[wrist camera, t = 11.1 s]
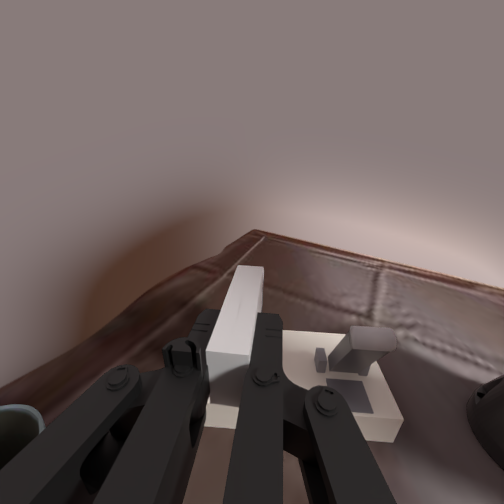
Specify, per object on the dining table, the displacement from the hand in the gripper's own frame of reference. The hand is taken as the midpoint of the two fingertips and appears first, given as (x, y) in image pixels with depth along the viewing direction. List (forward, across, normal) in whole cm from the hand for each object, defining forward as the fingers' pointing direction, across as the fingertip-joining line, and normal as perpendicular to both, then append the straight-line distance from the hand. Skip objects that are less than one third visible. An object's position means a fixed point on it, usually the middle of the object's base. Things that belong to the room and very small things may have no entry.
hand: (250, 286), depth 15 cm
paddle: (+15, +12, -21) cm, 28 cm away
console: (+15, +5, -28) cm, 32 cm away
